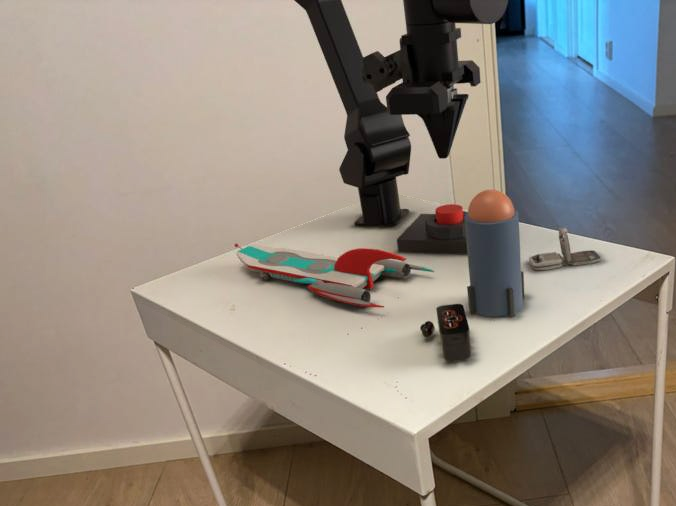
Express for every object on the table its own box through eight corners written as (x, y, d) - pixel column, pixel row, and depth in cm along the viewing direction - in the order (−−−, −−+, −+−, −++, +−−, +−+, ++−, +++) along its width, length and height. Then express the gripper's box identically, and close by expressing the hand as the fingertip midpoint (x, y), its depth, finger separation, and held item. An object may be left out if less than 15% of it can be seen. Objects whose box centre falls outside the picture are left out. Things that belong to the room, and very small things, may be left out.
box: (422, 225, 103) (419, 202, 101) (489, 227, 100) (487, 202, 99) (398, 252, 95) (394, 227, 93) (470, 254, 92) (468, 228, 90)
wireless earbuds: (464, 327, 75) (461, 299, 73) (472, 361, 69) (470, 331, 67) (420, 332, 75) (417, 305, 73) (425, 367, 69) (421, 338, 67)
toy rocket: (456, 302, 80) (445, 189, 74) (508, 287, 83) (502, 176, 76) (485, 325, 75) (475, 206, 68) (539, 308, 78) (535, 191, 71)
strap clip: (533, 272, 86) (532, 239, 84) (527, 262, 89) (526, 230, 86) (601, 262, 87) (602, 229, 85) (593, 253, 90) (594, 221, 87)
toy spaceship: (205, 297, 91) (192, 259, 88) (265, 263, 99) (254, 227, 97) (384, 313, 78) (374, 269, 76) (434, 273, 87) (427, 232, 84)
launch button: (441, 216, 96) (440, 204, 95) (466, 217, 95) (465, 204, 94) (433, 225, 93) (431, 213, 92) (459, 226, 92) (458, 213, 92)
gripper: (393, 16, 92) (408, 139, 100) (332, 36, 77) (355, 179, 84) (477, 11, 89) (485, 138, 97) (430, 31, 74) (445, 180, 82)
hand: (443, 157), depth 90 cm, fingers closed
